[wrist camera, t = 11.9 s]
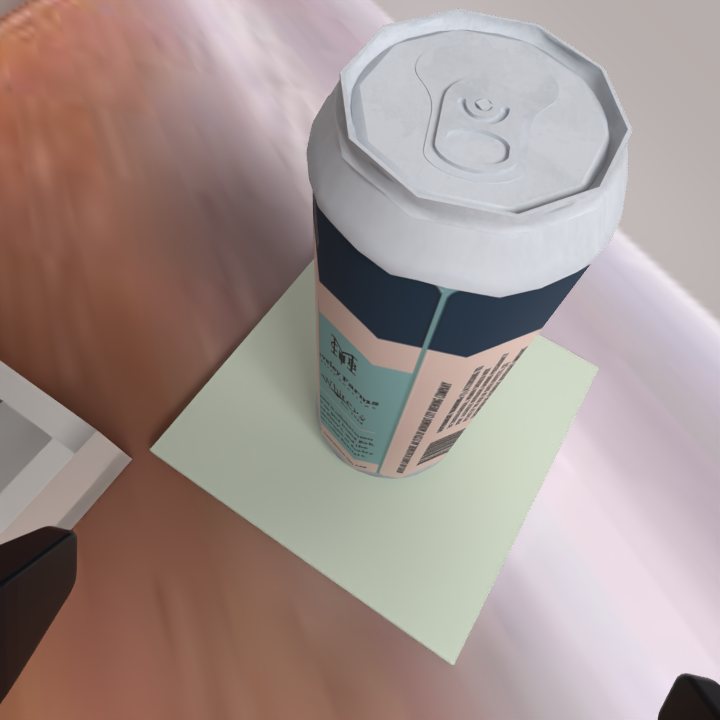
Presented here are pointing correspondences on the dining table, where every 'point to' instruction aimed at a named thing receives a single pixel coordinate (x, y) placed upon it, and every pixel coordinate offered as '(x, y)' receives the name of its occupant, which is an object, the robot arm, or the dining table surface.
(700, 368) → the dining table surface
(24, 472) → the shallow light grey tray
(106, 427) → the dining table surface
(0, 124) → the dining table surface
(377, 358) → the beer can
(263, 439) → the sage mat
